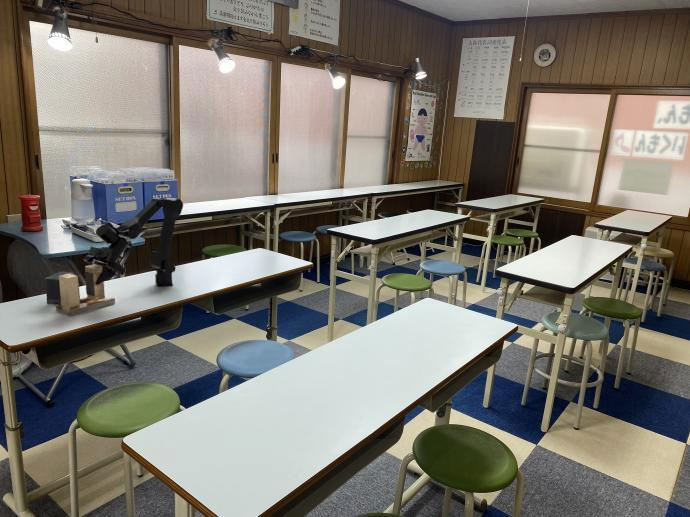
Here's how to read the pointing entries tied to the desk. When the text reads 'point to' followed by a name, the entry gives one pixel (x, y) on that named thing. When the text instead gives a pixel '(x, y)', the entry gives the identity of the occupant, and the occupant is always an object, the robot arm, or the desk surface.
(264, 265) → the desk surface
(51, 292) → the small box
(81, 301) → the rail
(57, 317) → the desk surface
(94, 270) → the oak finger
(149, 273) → the desk surface
